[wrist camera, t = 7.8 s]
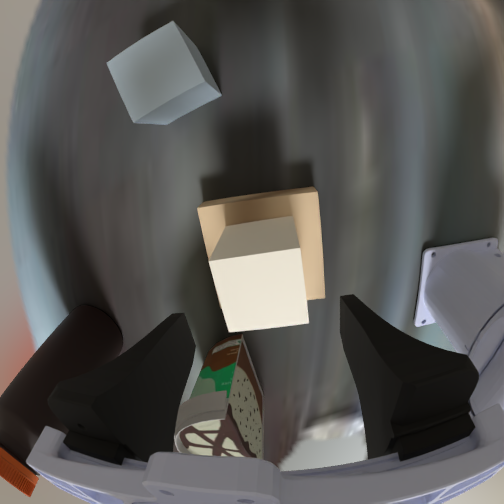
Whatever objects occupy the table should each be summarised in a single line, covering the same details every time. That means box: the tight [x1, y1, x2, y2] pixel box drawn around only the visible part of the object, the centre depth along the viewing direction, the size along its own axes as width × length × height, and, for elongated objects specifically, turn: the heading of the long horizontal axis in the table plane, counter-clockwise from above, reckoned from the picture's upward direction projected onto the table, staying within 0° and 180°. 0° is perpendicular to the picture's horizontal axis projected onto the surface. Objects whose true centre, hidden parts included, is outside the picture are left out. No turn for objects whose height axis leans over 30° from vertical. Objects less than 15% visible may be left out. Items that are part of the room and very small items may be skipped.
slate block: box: [107, 21, 222, 125], centre depth 15 cm, size 4×4×6 cm
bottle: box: [0, 305, 123, 496], centre depth 17 cm, size 7×7×20 cm
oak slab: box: [197, 187, 325, 309], centre depth 21 cm, size 8×8×2 cm
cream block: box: [209, 216, 309, 332], centre depth 17 cm, size 4×4×6 cm
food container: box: [174, 334, 264, 460], centre depth 22 cm, size 12×6×10 cm, turn 14°
